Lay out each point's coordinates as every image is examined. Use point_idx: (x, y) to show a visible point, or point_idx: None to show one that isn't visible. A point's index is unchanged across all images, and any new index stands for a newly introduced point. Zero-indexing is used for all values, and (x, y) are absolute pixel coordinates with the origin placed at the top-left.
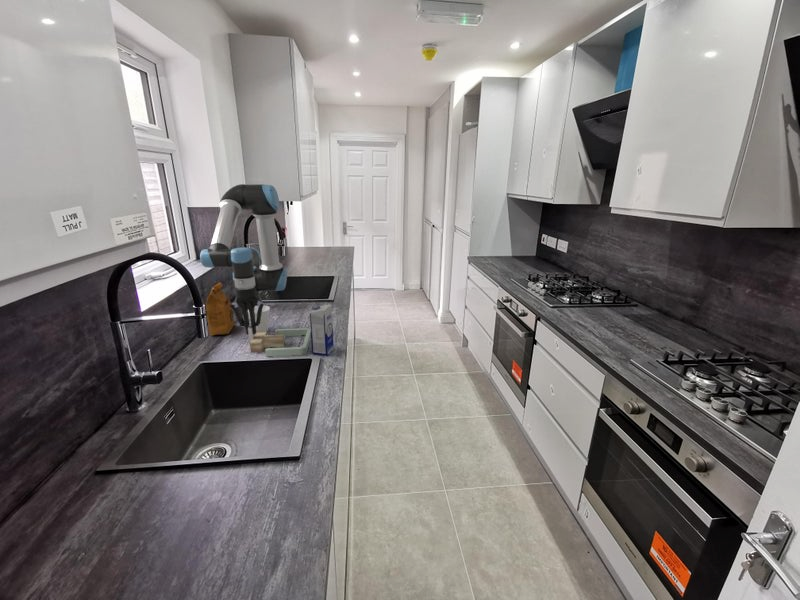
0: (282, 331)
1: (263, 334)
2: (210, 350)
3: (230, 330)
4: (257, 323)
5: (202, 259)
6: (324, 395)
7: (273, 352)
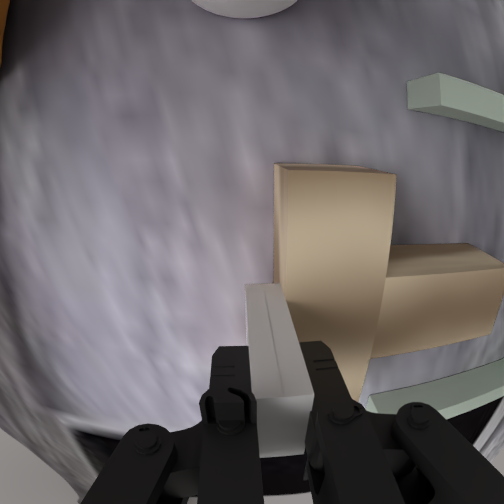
0: (480, 117)
1: (372, 257)
2: (13, 317)
3: (1, 36)
4: (401, 480)
5: None
6: None
7: None
